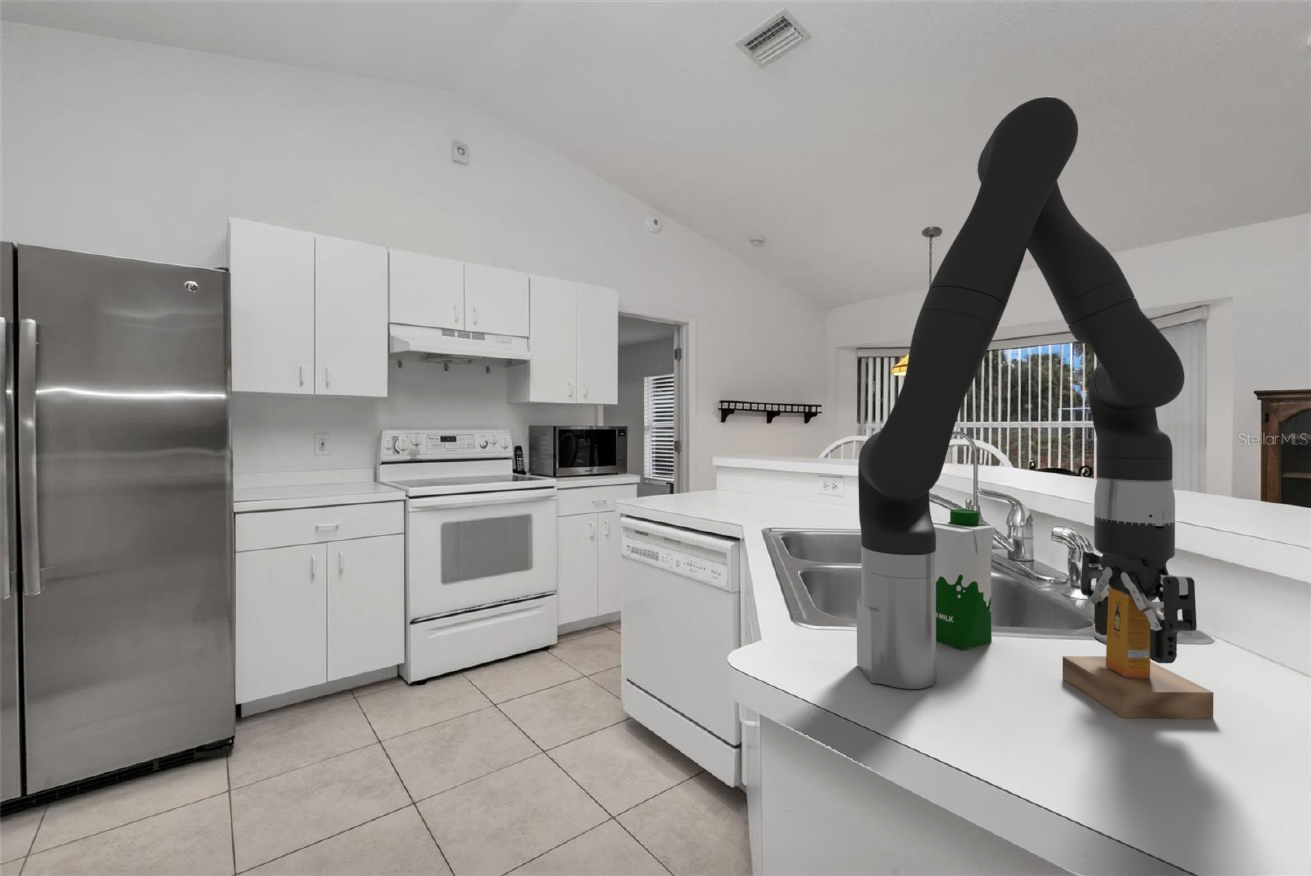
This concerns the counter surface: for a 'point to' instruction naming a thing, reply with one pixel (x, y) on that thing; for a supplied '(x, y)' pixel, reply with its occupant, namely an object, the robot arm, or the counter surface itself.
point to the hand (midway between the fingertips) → (1132, 647)
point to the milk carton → (963, 580)
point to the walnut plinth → (1138, 690)
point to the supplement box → (1127, 636)
